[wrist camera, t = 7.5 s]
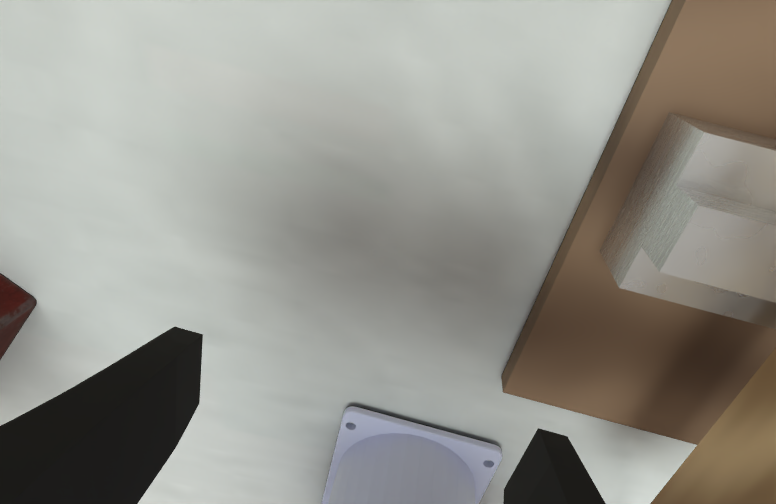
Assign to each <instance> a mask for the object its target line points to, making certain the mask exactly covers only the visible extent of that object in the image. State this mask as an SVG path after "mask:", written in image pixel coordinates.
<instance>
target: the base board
mask: <svg viewBox="0 0 776 504" xmlns="http://www.w3.org/2000/svg"><path fill="white" fill-rule="evenodd" d="M669 112H670V113H673V114H677V115H681V116H685V117H689V118H693V119H697V120H701V121H705V122H709V123H713V124H717V125H720V126H724V127H728V128H732V129H736V130H740V131H744V132H748V133H752V134H756V135H760V136H763V137H767V138H771V139H775V140H776V0H672V2H671V4H670V6H669V9H668V11H667V13H666V15H665V17H664V20H663V22H662V24H661V26H660V28H659V31H658V33H657V35H656V37H655V39H654V42H653V44H652V46H651V48H650V50H649V53H648V55H647V57H646V59H645V61H644V64H643V66H642V68H641V70H640V72H639V75H638V77H637V79H636V81H635V83H634V86H633V88H632V90H631V92H630V94H629V97H628V99H627V101H626V103H625V105H624V108H623V110H622V112H621V114H620V116H619V119H618V121H617V123H616V125H615V127H614V130H613V132H612V134H611V136H610V138H609V141H608V143H607V145H606V147H605V149H604V152H603V154H602V156H601V158H600V160H599V163H598V165H597V167H596V169H595V171H594V174H593V176H592V178H591V180H590V182H589V185H588V187H587V189H586V191H585V194H584V196H583V198H582V200H581V202H580V205H579V207H578V209H577V211H576V213H575V216H574V218H573V220H572V222H571V224H570V227H569V229H568V231H567V233H566V235H565V238H564V240H563V242H562V244H561V246H560V249H559V251H558V253H557V255H556V257H555V260H554V262H553V264H552V266H551V268H550V271H549V273H548V275H547V277H546V279H545V282H544V284H543V286H542V288H541V290H540V293H539V295H538V297H537V299H536V301H535V304H534V306H533V308H532V310H531V312H530V315H529V317H528V319H527V321H526V323H525V326H524V328H523V330H522V332H521V334H520V337H519V339H518V341H517V343H516V345H515V348H514V350H513V352H512V354H511V356H510V359H509V361H508V363H507V365H506V367H505V370H504V372H503V374H502V387H503V392H504V393H508V394H511V395H515V396H519V397H523V398H526V399H530V400H534V401H537V402H541V403H545V404H548V405H552V406H556V407H560V408H563V409H567V410H571V411H574V412H578V413H582V414H585V415H589V416H593V417H597V418H600V419H604V420H608V421H611V422H615V423H619V424H622V425H626V426H630V427H634V428H637V429H641V430H645V431H648V432H652V433H656V434H659V435H663V436H667V437H671V438H674V439H678V440H682V441H685V442H689V443H693V444H696V445H698V444H699V443H700V441H701V440H702V439H703V438H704V436H705V435H706V434H707V433H708V431H709V430H710V429H711V428H712V426H713V425H714V424H715V423H716V422H717V420H718V419H719V418H720V417H721V415H722V414H723V413H724V412H725V410H726V409H727V408H728V407H729V405H730V404H731V403H732V402H733V400H734V399H735V398H736V397H737V395H738V394H739V393H740V392H741V390H742V389H743V388H744V387H745V385H746V384H747V383H748V382H749V380H750V379H751V378H752V377H753V375H754V374H755V373H756V372H757V370H758V369H759V368H760V367H761V365H762V364H763V363H764V362H765V361H766V359H767V358H768V357H769V356H770V354H771V353H772V352H773V351H774V349H775V348H776V329H773V328H769V327H765V326H761V325H757V324H754V323H750V322H746V321H742V320H739V319H735V318H731V317H727V316H723V315H720V314H716V313H712V312H708V311H704V310H701V309H697V308H693V307H689V306H686V305H682V304H678V303H674V302H670V301H667V300H663V299H659V298H655V297H651V296H648V295H644V294H640V293H636V292H633V291H629V290H625V289H621V288H619V287H618V285H617V283H616V281H615V279H614V277H613V276H612V274H611V272H610V270H609V268H608V266H607V264H606V262H605V260H604V258H603V257H602V255H601V253H600V249H601V247H602V245H603V243H604V241H605V239H606V237H607V235H608V233H609V231H610V229H611V227H612V225H613V223H614V221H615V219H616V217H617V215H618V213H619V211H620V209H621V207H622V205H623V203H624V201H625V199H626V197H627V195H628V193H629V191H630V189H631V187H632V185H633V183H634V181H635V179H636V177H637V175H638V173H639V171H640V169H641V167H642V165H643V163H644V161H645V159H646V158H647V156H648V154H649V152H650V150H651V148H652V146H653V144H654V142H655V140H656V138H657V136H658V134H659V132H660V130H661V128H662V126H663V124H664V122H665V120H666V118H667V116H668V114H669Z"/></svg>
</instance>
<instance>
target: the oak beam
mask: <svg viewBox="0 0 776 504" xmlns="http://www.w3.org/2000/svg"><path fill="white" fill-rule="evenodd" d="M651 504H776V348H775V349H774V351H773V352H772V353H771V354H770V356H769V357H768V358H767V359H766V361H765V362H764V363H763V364H762V365H761V367H760V368H759V369H758V370H757V372H756V373H755V374H754V375H753V377H752V378H751V379H750V380H749V382H748V383H747V384H746V385H745V387H744V388H743V389H742V390H741V392H740V393H739V394H738V395H737V397H736V398H735V399H734V400H733V402H732V403H731V404H730V405H729V407H728V408H727V409H726V410H725V412H724V413H723V414H722V415H721V417H720V418H719V419H718V420H717V422H716V423H715V424H714V425H713V426H712V428H711V429H710V430H709V431H708V433H707V434H706V435H705V436H704V438H703V439H702V440H701V441H700V443H699V444H698V445H697V446H696V448H695V449H694V450H693V451H692V453H691V454H690V455H689V456H688V458H687V459H686V460H685V461H684V463H683V464H682V465H681V466H680V468H679V469H678V470H677V471H676V473H675V474H674V475H673V476H672V478H671V479H670V480H669V481H668V482H667V484H666V485H665V486H664V487H663V489H662V490H661V491H660V492H659V494H658V495H657V496H656V497H655V499H654V500H653V501H652V502H651Z"/></svg>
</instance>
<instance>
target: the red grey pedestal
mask: <svg viewBox="0 0 776 504" xmlns="http://www.w3.org/2000/svg"><path fill="white" fill-rule="evenodd" d="M35 306H36V300H35V299H34V298H33V296H31V295H30V294H28V293H27V292H25V291H24V290H23V289H21V288H20V287H18V286H17V285H16V284H14V283H13V282H11V281H10V280H8V279H7V278H6V277H4V276H3V275H1V274H0V359H1V358H2V356H3V355H4V353H5V352H6V350H7V349H8V347H9V345H10V344H11V342H12V341H13V339H14V338H15V336H16V335H17V333H18V332H19V330H20V329H21V327H22V325H23V324H24V322H25V321H26V319H27V318H28V316H29V315H30V313H31V312H32V310H33V309H34V307H35Z"/></svg>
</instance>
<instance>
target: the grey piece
mask: <svg viewBox="0 0 776 504" xmlns="http://www.w3.org/2000/svg"><path fill="white" fill-rule="evenodd" d="M600 253H601V255H602V257H603V258H604V260H605V262H606V264H607V266H608V268H609V270H610V272H611V274H612V276H613V277H614V279H615V281H616V283H617V285H618V287H619V288H621V289H625V290H629V291H633V292H636V293H640V294H644V295H648V296H651V297H655V298H659V299H663V300H667V301H670V302H674V303H678V304H682V305H686V306H689V307H693V308H697V309H701V310H704V311H708V312H712V313H716V314H720V315H723V316H727V317H731V318H735V319H739V320H742V321H746V322H750V323H754V324H757V325H761V326H765V327H769V328H773V329H776V140H775V139H771V138H767V137H763V136H760V135H756V134H752V133H748V132H744V131H740V130H736V129H732V128H728V127H724V126H720V125H717V124H713V123H709V122H705V121H701V120H697V119H693V118H689V117H685V116H681V115H677V114H673V113H670V112H669V114H668V116H667V118H666V120H665V122H664V124H663V126H662V128H661V130H660V132H659V134H658V136H657V138H656V140H655V142H654V144H653V146H652V148H651V150H650V152H649V154H648V156H647V158H646V159H645V161H644V163H643V165H642V167H641V169H640V171H639V173H638V175H637V177H636V179H635V181H634V183H633V185H632V187H631V189H630V191H629V193H628V195H627V197H626V199H625V201H624V203H623V205H622V207H621V209H620V211H619V213H618V215H617V217H616V219H615V221H614V223H613V225H612V227H611V229H610V231H609V233H608V235H607V237H606V239H605V241H604V243H603V245H602V247H601V249H600Z"/></svg>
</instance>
